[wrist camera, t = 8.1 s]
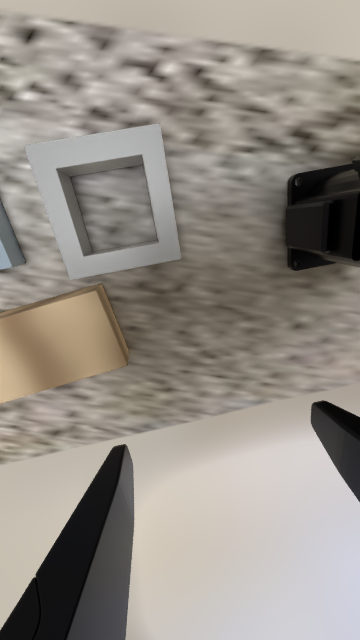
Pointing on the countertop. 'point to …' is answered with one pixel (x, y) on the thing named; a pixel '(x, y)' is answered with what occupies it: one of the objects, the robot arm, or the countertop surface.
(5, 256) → the tray
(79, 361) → the board
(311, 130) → the countertop surface
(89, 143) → the socket block
